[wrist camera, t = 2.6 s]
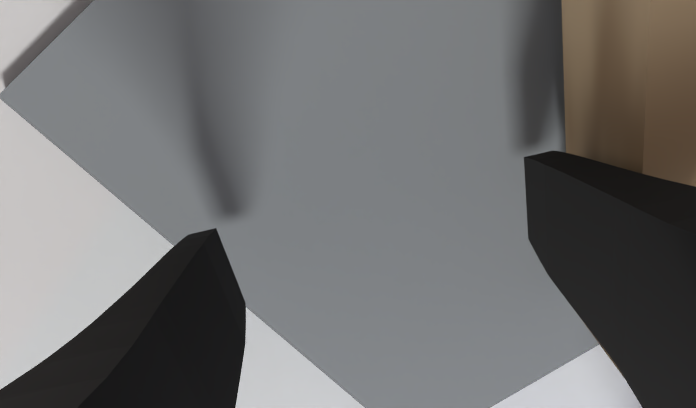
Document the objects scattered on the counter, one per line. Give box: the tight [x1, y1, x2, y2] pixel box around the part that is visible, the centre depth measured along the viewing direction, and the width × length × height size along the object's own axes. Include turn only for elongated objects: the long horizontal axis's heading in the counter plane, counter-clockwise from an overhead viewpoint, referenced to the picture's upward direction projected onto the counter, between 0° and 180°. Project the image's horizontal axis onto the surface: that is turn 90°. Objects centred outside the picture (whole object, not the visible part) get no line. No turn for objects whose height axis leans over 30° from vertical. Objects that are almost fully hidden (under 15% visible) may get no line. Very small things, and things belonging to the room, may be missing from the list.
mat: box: [0, 0, 599, 408], centre depth 12 cm, size 15×16×1 cm
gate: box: [561, 0, 696, 377], centre depth 10 cm, size 10×1×3 cm, turn 13°
